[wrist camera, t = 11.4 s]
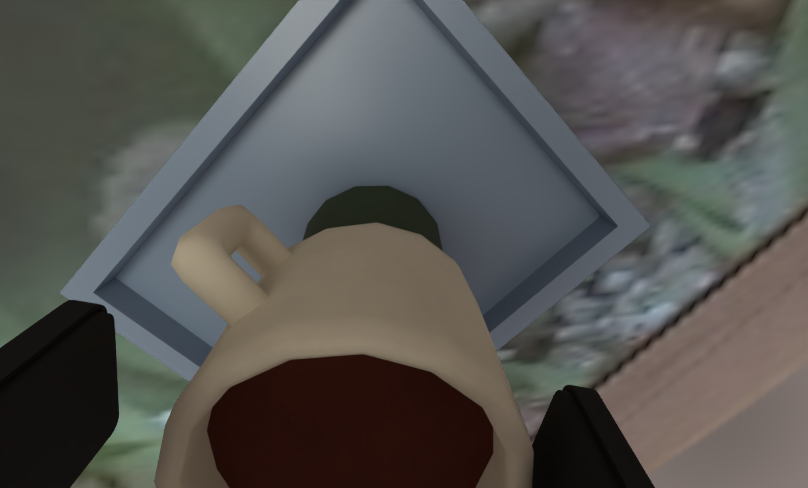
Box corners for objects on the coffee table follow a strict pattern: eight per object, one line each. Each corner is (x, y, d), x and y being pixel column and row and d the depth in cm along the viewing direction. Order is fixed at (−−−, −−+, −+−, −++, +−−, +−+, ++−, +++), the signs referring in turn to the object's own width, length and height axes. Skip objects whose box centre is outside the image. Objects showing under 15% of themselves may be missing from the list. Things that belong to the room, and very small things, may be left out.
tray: (381, -75, 16) (379, -99, 14) (622, 210, 21) (650, 226, 18) (95, 270, 21) (59, 292, 19) (340, 446, 25) (335, 481, 23)
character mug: (233, 204, 19) (-37, 413, 7) (356, 100, 18) (283, 139, 6) (387, 364, 22) (382, 698, 10) (501, 286, 21) (652, 566, 9)
